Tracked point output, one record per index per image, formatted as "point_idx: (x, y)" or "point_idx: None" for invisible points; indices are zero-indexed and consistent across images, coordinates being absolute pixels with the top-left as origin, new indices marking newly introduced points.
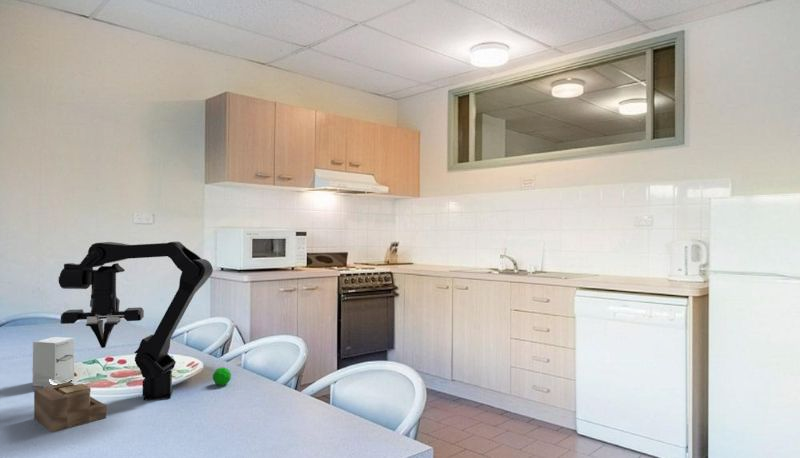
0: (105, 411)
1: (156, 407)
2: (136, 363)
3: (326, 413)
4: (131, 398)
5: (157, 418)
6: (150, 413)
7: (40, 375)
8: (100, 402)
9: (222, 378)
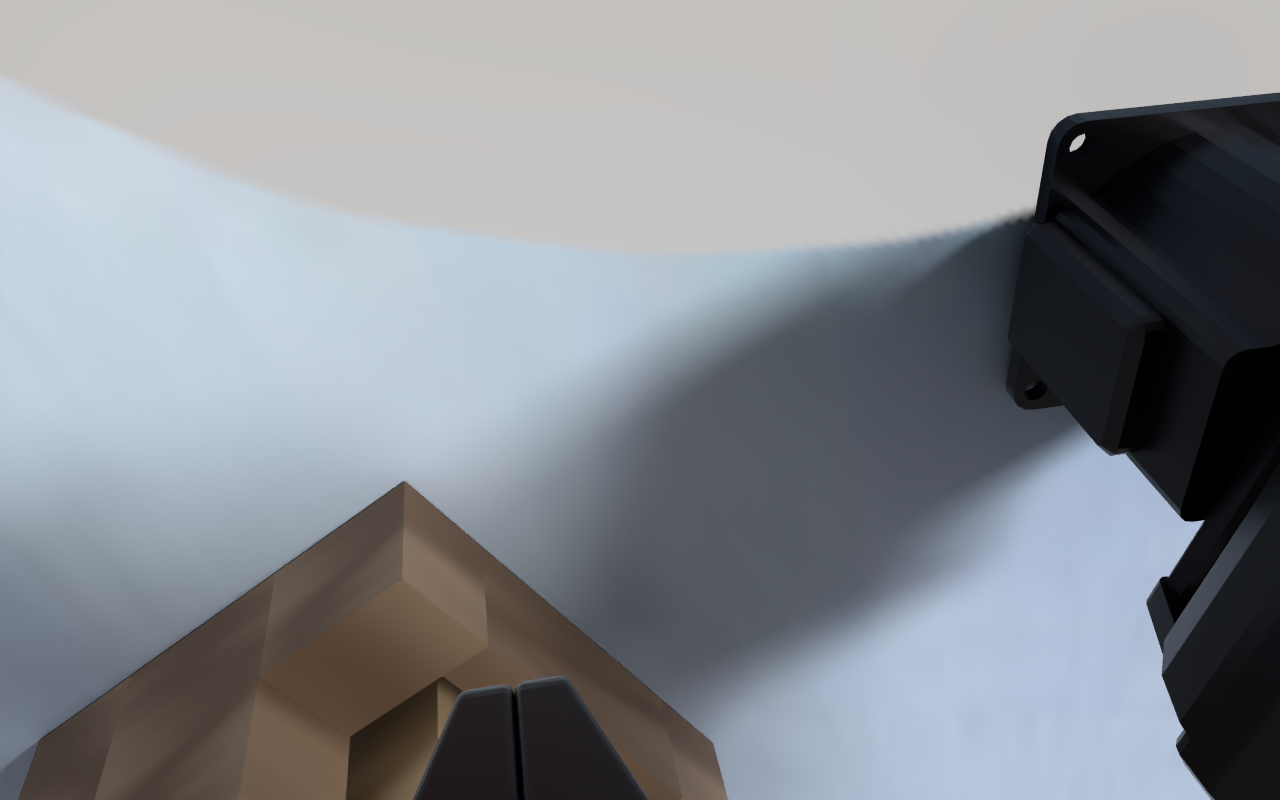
0: (722, 795)
1: (1112, 564)
2: (1174, 687)
3: None
4: (865, 284)
5: (1098, 758)
6: (1055, 677)
7: None
8: (667, 788)
9: None
